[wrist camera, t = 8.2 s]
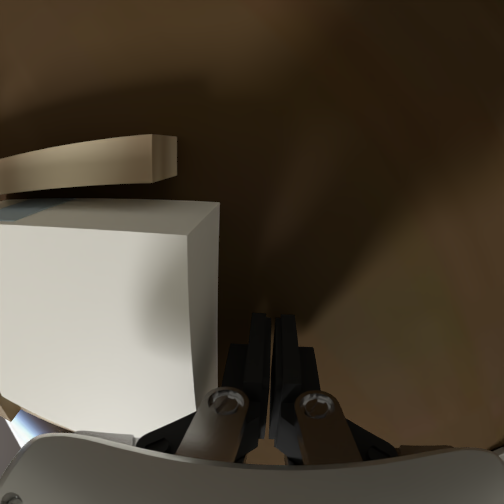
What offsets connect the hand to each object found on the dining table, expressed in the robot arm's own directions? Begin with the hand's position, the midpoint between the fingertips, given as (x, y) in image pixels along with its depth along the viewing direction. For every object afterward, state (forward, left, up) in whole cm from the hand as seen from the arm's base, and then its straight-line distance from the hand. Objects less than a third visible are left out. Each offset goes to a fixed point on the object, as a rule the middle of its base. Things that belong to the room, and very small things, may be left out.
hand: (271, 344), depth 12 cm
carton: (+8, -1, -2) cm, 9 cm away
